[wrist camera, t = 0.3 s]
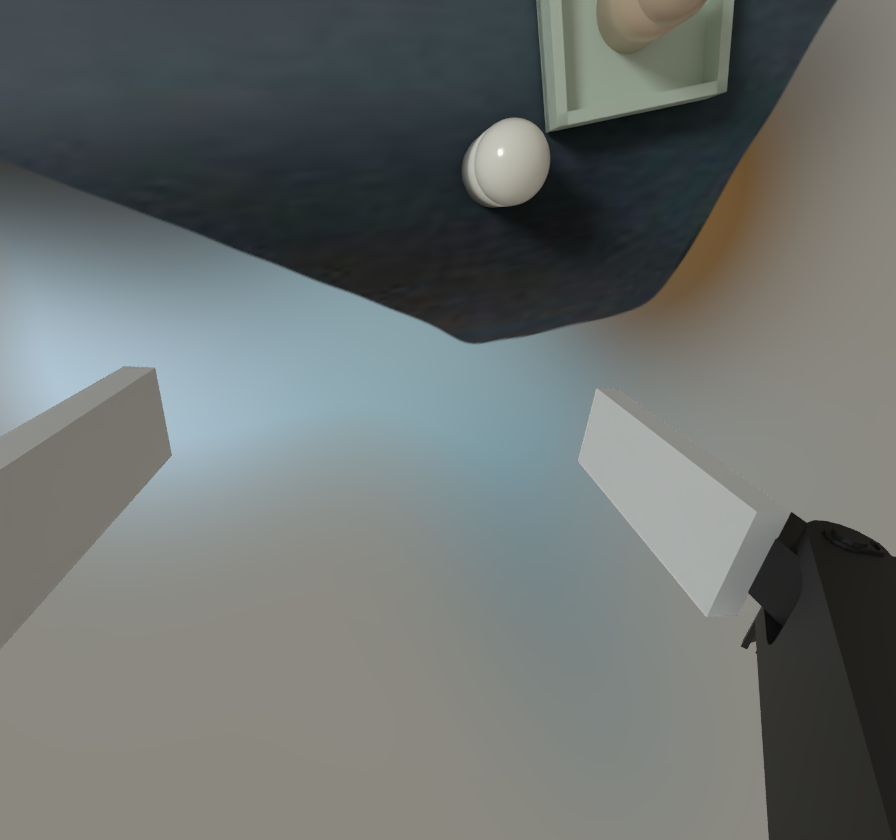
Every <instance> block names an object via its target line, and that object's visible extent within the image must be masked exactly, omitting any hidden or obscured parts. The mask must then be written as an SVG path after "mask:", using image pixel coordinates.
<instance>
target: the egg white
mask: <svg viewBox="0 0 896 840" xmlns="http://www.w3.org/2000/svg"><path fill="white" fill-rule="evenodd" d="M549 166H550V150H549V146H548V143H547V140H546V138H545V136H544V134H543V133H542V131H541V130H540V129H539V128H538V127H537V126H536V125H535V124H533V123H532V122H530V121H528V120H526V119H522V118H507V119H504V120H501V121H499V122H497V123H496V124H494V125H493V126H491V127H490V128H489V129H488V130H486V131H485V132H484V133H483V134H482V135H480V136H479V137H478V138H477V139H476V140H474V141H473V142H472V144H471V145H470V146H469V148H468V149H467V151H466V153H465V156H464V159H463V163H462V179H463V183H464V186H465V189H466V191H467V192H468V194H469V195H470V197H471V198H472V199H473V200H474V201H475V202H477V203H478V204H480V205H482V206H485V207H493V208H495V207H505V206H514V205H519V204H522V203H524V202H526V201H528V200H529V199H531V198H532V197H533V196H534V195H535V194H536V193H537V192H538V191H539V190H540V188H541V187H542V186H543V184H544V182H545V180H546V178H547V175H548V171H549Z"/></svg>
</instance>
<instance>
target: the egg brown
mask: <svg viewBox="0 0 896 840" xmlns="http://www.w3.org/2000/svg"><path fill="white" fill-rule="evenodd" d="M706 2H707V0H597V7H596V16H597V24H598V28H599V32H600V34H601V36H602V38H603V40H604V41H605V43H606V44H607V45H608V46H609V47H610V48H611V49H613V50H614V51H616V52H618V53H622V54H631V53H635V52H637V51H640V50H641V49H643V48H644V47H646V46H648V45H649V44H651V43H652V42H654V41H655V40H657V39H658V38H660V37H662V36H663V35H665V34H666V33H668V32H669V31H671V30H672V29H674V28H675V27H677V26H679V25H680V24H682V23H683V22H685V21H686V20H688V19H689V18H691V17H692V16H693V15H694V14H695V13H697V12H698V11H699V10H700V9H701V7H702V6H703V5H704V4H705V3H706Z"/></svg>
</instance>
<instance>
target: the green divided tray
mask: <svg viewBox="0 0 896 840" xmlns="http://www.w3.org/2000/svg"><path fill="white" fill-rule="evenodd" d="M536 4H537V18H538V31H539V45H540V58H541V72H542V85H543V99H544V112H545V126H546V133H548V132H553V131H558V130H562V129H567V128H572V127H577V126H581V125H586V124H591V123H596V122H600V121H605V120H610V119H615V118H619V117H624V116H629V115H634V114H639V113H643V112H648V111H653V110H658V109H662V108H667V107H672V106H677V105H681V104H686V103H691V102H696V101H700V100H705V99H708V98H710V97H713V96H716V95H719V94H721V93H724V92H727V82H728V70H729V58H730V46H731V34H732V22H733V10H734V0H707V2H706V3H705V4H704V5H703V6H702V7H701V9H700V10H699V11H698V12H697V13H695V14H694V15H693V16H692V17H691V18H689V19H688V20H686V21H685V22H683V23H682V24H680V25H679V26H677V27H675V28H674V29H672V30H671V31H669V32H668V33H666V34H665V35H663V36H662V37H660V38H658V39H657V40H655V41H654V42H652V43H651V44H649V45H648V46H646V47H644V48H643V49H641V50H640V51H637V52H635V53H631V54H622V53H618V52H616V51H614V50H613V49H611V48H610V47H609V46H608V45H607V44H606V43H605V41H604V40H603V38H602V36H601V34H600V32H599V28H598V24H597V16H596V7H597V0H536Z"/></svg>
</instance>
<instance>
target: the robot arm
mask: <svg viewBox="0 0 896 840" xmlns="http://www.w3.org/2000/svg"><path fill="white" fill-rule="evenodd" d="M170 457H171V449H170V444H169V438H168V433H167V428H166V423H165V418H164V412H163V408H162V402H161V396H160V391H159V386H158V380H157V375H156V370H155V368H148V367H126V366H124V367H122V368H120V369H119V370H117V371H115V372H113V373H112V374H110V375H108V376H106V377H105V378H103V379H101V380H99V381H98V382H96V383H94V384H92V385H91V386H89V387H87V388H85V389H84V390H82V391H80V392H78V393H77V394H75V395H73V396H71V397H70V398H68V399H66V400H64V401H63V402H61V403H59V404H57V405H56V406H54V407H52V408H51V409H49V410H47V411H45V412H43V413H42V414H40V415H38V416H36V417H35V418H33V419H32V420H29V421H28V422H26V423H24V424H22V425H21V426H19V427H17V428H15V429H14V430H12V431H10V432H8V433H7V434H5V435H3V436H1V437H0V649H1V648H2V647H3V645H4V644H5V643H6V642H7V641H8V640H9V639H10V638H11V637H12V635H13V634H14V633H15V632H16V631H17V630H18V628H19V627H20V626H21V625H22V624H23V623H24V622H25V621H26V620H27V618H28V617H29V616H30V615H31V614H32V613H33V612H34V610H35V609H36V608H37V607H38V606H39V605H40V604H41V603H42V601H43V600H44V599H45V598H46V597H47V596H48V595H49V593H50V592H51V591H52V590H53V589H54V588H55V587H56V586H57V585H58V583H59V582H60V581H61V580H62V579H63V578H64V577H65V575H66V574H67V573H68V572H69V571H70V570H71V569H72V568H73V566H74V565H75V564H76V563H77V562H78V561H79V560H80V559H81V557H82V556H83V555H84V554H85V553H86V552H87V551H88V549H89V548H90V547H91V546H92V545H93V544H94V543H95V542H96V540H97V539H98V538H99V537H100V536H101V535H102V533H103V532H104V531H105V530H106V529H107V528H108V527H109V526H110V524H111V523H112V522H113V521H114V520H115V519H116V518H117V517H118V516H119V514H120V513H121V512H122V511H123V510H124V509H125V508H126V506H127V505H128V504H129V503H130V502H131V501H132V500H133V499H134V497H135V496H136V495H137V494H138V493H139V492H140V490H141V489H142V488H143V487H144V486H145V485H146V484H147V483H148V482H149V480H150V479H151V478H152V477H153V476H154V475H155V473H157V471H158V470H159V469H160V468H161V467H162V466H163V465H164V464H165V462H166V461H167V460H168V459H169V458H170ZM578 462H579V463H580V464H581V465H582V467H583V468H584V469H585V470H586V471H587V473H588V474H589V475H590V476H591V478H592V479H593V480H594V481H595V482H596V484H597V485H598V486H599V487H600V489H601V490H602V491H603V492H604V493H605V495H606V496H607V497H608V498H609V499H610V501H611V502H612V503H613V504H614V505H615V507H616V508H617V509H618V510H619V512H620V513H621V514H622V515H623V516H624V518H625V519H626V520H627V521H628V522H629V524H630V525H631V526H632V527H633V529H634V530H635V531H636V532H637V533H638V535H639V536H640V537H641V538H642V540H643V541H644V542H645V543H646V544H647V546H648V547H649V548H650V549H651V550H652V552H653V553H654V554H655V555H656V557H657V558H658V559H659V560H660V561H661V563H662V564H663V565H664V566H665V567H666V569H667V570H668V571H669V572H670V573H671V575H672V576H673V577H674V578H675V580H676V581H677V582H678V583H679V585H680V586H681V587H682V588H683V589H684V591H685V592H686V593H687V594H688V595H689V597H690V598H691V599H692V600H693V602H694V603H695V604H696V605H697V606H698V607H699V609H700V610H701V611H702V612H703V614H704V615H705V616H706V617H719V616H737V615H738V613H739V611H740V610H741V607H742V605H743V604H744V602H745V600H746V598H747V596H748V594H750V595H751V596H752V597H753V598H754V599H755V600H756V601H757V602H758V603H759V604H760V605H761V606H762V607H761V609H760V610H759V612H758V614H757V616H756V618H755V620H754V621H753V623H752V625H751V627H750V629H749V630H748V632H747V634H746V636H745V638H744V640H743V642H742V645H741V647H743V648H745V649H747V648H748V647H749V645H750V643H751V642H755V641H756V647H757V651H756V654H757V662H758V677H759V693H760V707H761V708H760V709H761V723H762V738H763V739H762V740H763V755H764V770H765V786H766V801H767V816H768V832H769V840H896V557H893V556H891V555H890V554H889V553H888V551H887V550H886V549H885V548H884V547H883V546H881V545H880V544H879V543H878V542H876V541H874V540H873V539H871V538H869V537H867V536H865V535H863V534H861V533H860V532H858V531H855V530H853V529H851V528H848V527H845V526H842V525H840V524H835V523H831V522H828V521H818V520H814V521H811V522H808V523H806V522H805V521H803V520H802V519H801V518H799V517H798V516H796V515H795V514H793V513H792V512H791V511H790V510H788V509H787V508H785V507H784V506H782V505H781V504H780V503H778V502H777V501H776V500H774V499H773V498H771V497H770V496H768V495H767V494H766V493H764V492H763V491H761V490H760V489H758V488H757V487H756V486H754V485H753V484H751V483H750V482H749V481H747V480H746V479H744V478H743V477H742V476H740V475H739V474H737V473H736V472H735V471H733V470H732V469H730V468H729V467H727V466H726V465H725V464H723V463H722V462H720V461H719V460H718V459H716V458H715V457H713V456H712V455H711V454H709V453H708V452H706V451H705V450H703V449H702V448H701V447H699V446H698V445H696V444H695V443H694V442H692V441H691V440H689V439H688V438H687V437H685V436H684V435H682V434H681V433H679V432H678V431H676V430H675V429H674V428H672V427H671V426H670V425H668V424H667V423H665V422H664V421H662V420H661V419H660V418H658V417H657V416H655V415H654V414H652V413H651V412H650V411H648V410H647V409H646V408H644V407H643V406H641V405H640V404H638V403H637V402H635V401H634V400H633V399H631V398H630V397H629V396H627V395H626V394H624V393H623V392H622V391H620V390H619V389H607V388H596V393H595V396H594V400H593V404H592V408H591V412H590V416H589V420H588V424H587V428H586V431H585V435H584V439H583V443H582V447H581V451H580V455H579V459H578Z"/></svg>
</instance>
